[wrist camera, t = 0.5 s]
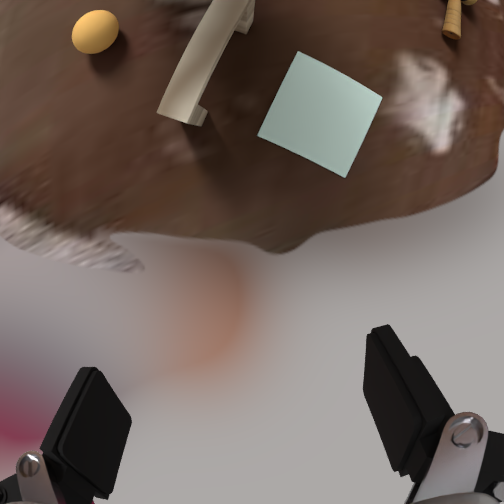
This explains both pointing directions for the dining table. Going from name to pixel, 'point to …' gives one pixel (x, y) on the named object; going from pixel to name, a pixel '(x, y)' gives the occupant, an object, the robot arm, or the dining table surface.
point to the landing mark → (320, 114)
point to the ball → (95, 31)
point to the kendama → (454, 18)
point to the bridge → (204, 58)
